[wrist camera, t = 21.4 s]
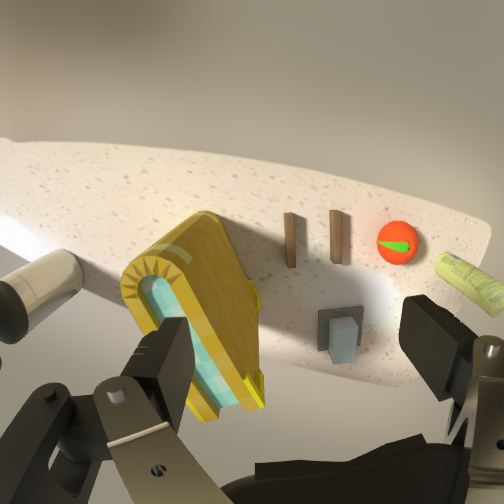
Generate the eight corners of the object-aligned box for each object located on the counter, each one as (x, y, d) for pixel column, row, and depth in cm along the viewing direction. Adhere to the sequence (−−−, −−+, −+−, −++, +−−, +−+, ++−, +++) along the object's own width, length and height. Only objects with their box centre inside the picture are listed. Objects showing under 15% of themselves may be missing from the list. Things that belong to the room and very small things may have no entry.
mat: (317, 349, 52) (318, 351, 51) (318, 311, 50) (319, 312, 49) (358, 343, 51) (359, 345, 51) (362, 305, 49) (363, 307, 49)
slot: (286, 263, 47) (288, 268, 45) (283, 212, 45) (285, 215, 43) (337, 259, 47) (341, 263, 45) (336, 209, 45) (341, 211, 43)
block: (328, 351, 51) (333, 364, 47) (329, 318, 49) (334, 330, 45) (349, 348, 51) (355, 360, 47) (351, 315, 49) (358, 326, 45)
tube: (442, 284, 48) (505, 330, 30) (427, 272, 48) (493, 318, 29) (457, 259, 47) (525, 297, 28) (443, 246, 46) (513, 282, 28)
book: (260, 298, 49) (264, 406, 25) (223, 312, 50) (201, 422, 26) (216, 203, 45) (174, 241, 21) (177, 221, 46) (104, 274, 22)
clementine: (361, 255, 47) (377, 269, 40) (368, 213, 45) (386, 221, 38) (402, 259, 47) (421, 272, 40) (409, 220, 45) (430, 228, 38)
